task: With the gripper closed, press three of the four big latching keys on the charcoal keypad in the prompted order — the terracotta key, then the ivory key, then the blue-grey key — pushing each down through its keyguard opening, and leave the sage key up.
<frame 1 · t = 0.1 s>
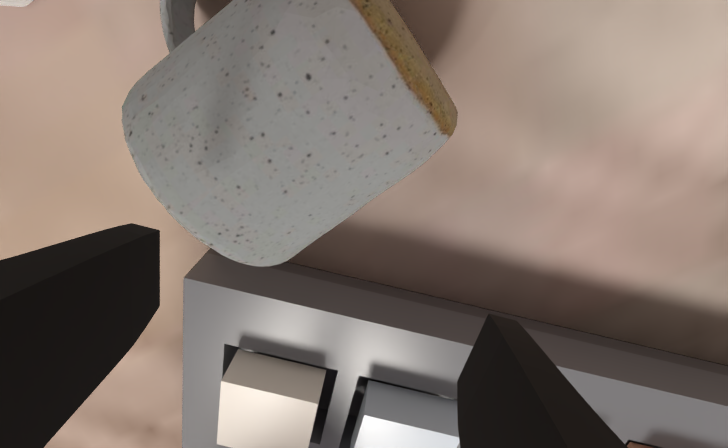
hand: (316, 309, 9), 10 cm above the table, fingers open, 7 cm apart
key bluegrey: (401, 437, 20), point 4 cm above the table, slide at 0.0 cm
ceramic mug: (300, 70, 17), on the table
key ivory: (271, 407, 20), point 4 cm above the table, slide at 0.0 cm
keypad: (458, 393, 23), on the table
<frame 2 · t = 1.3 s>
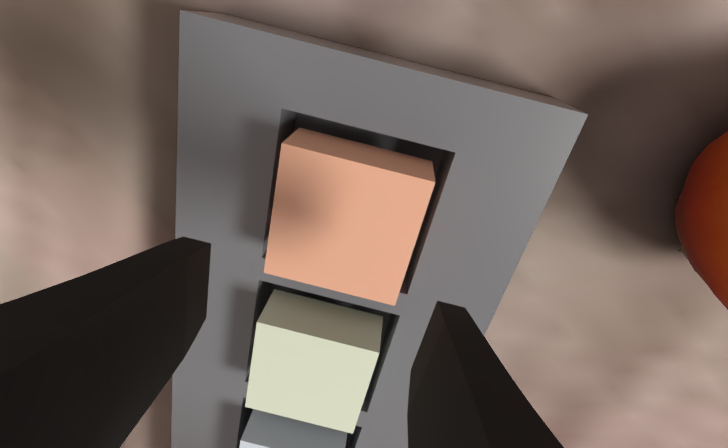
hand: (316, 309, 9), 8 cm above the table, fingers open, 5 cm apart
key sage: (313, 361, 16), point 4 cm above the table, slide at 0.0 cm
key terracotta: (347, 217, 13), point 4 cm above the table, slide at 0.0 cm
keypad: (318, 355, 21), on the table
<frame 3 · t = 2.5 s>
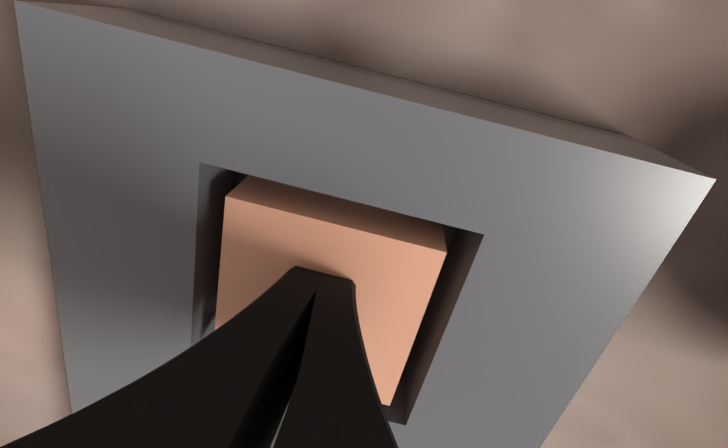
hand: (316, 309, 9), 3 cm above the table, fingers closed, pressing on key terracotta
key terracotta: (325, 286, 10), point 2 cm above the table, slide at 1.6 cm, touching gripper
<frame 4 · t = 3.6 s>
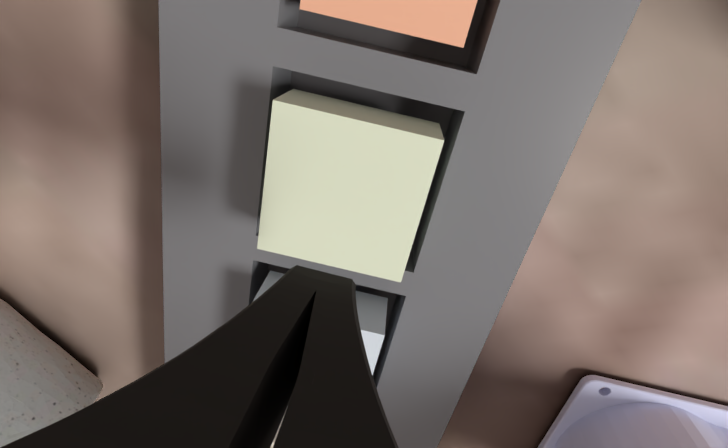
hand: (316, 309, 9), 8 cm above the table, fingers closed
key bluegrey: (314, 348, 15), point 4 cm above the table, slide at 0.0 cm
ceramic mug: (26, 351, 22), on the table
key sage: (347, 186, 12), point 4 cm above the table, slide at 0.0 cm
keypad: (344, 227, 17), on the table
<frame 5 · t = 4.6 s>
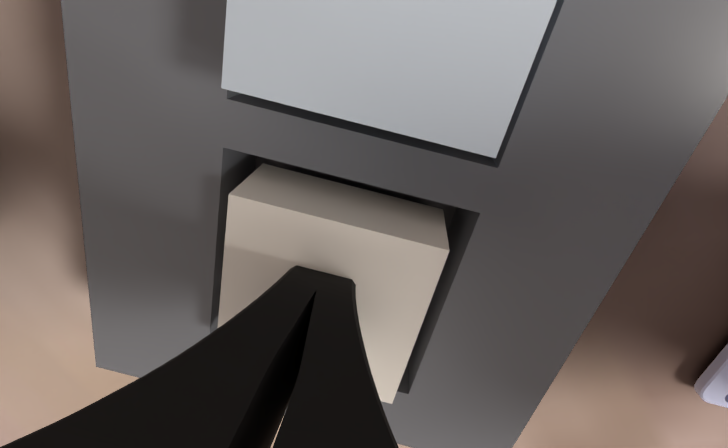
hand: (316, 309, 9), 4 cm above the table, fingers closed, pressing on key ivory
key ivory: (328, 284, 10), point 3 cm above the table, slide at 0.7 cm, touching gripper
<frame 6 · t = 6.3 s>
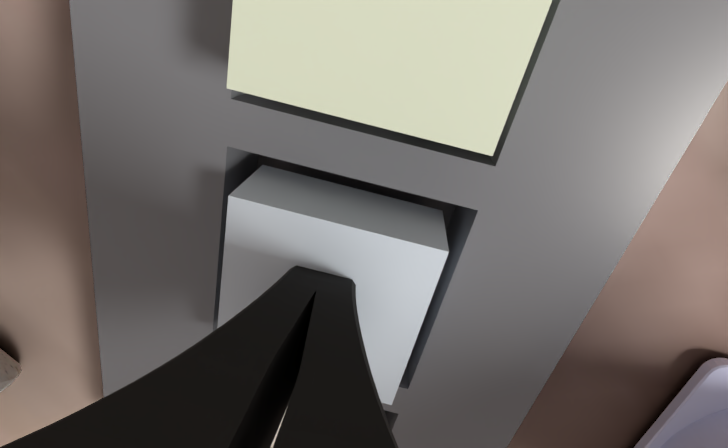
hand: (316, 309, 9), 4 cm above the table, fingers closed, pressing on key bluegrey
key bluegrey: (327, 285, 10), point 3 cm above the table, slide at 0.5 cm, touching gripper
key ivory: (298, 423, 14), point 2 cm above the table, slide at 1.6 cm
keypad: (371, 125, 11), on the table
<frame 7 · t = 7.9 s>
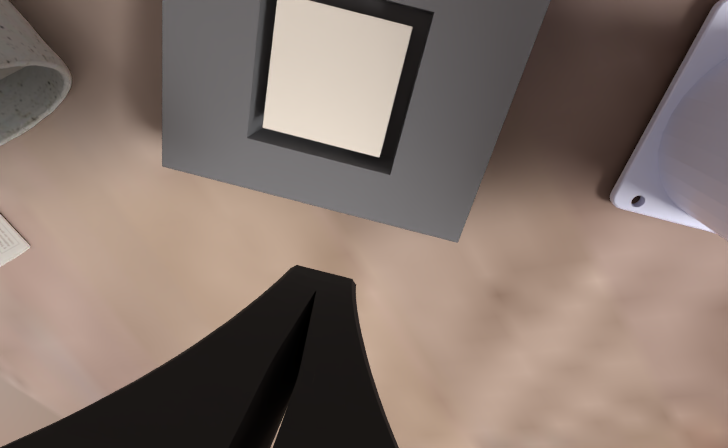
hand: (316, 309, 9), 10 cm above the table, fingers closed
key ivory: (337, 77, 15), point 2 cm above the table, slide at 1.6 cm
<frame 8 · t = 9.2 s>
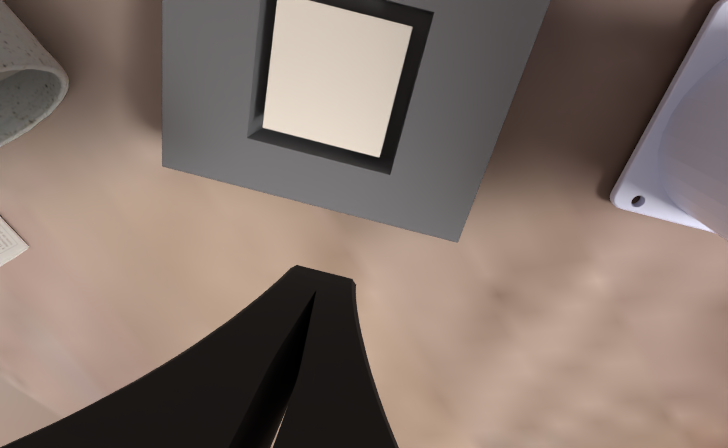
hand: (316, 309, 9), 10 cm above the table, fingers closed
key ivory: (337, 77, 15), point 2 cm above the table, slide at 1.6 cm
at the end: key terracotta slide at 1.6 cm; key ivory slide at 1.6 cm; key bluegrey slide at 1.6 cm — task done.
